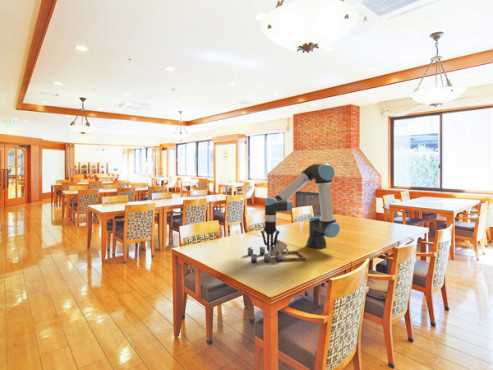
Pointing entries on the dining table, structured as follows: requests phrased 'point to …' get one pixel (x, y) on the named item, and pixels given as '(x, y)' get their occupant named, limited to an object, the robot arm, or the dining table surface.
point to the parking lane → (301, 258)
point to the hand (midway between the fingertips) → (269, 255)
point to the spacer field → (262, 252)
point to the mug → (279, 248)
